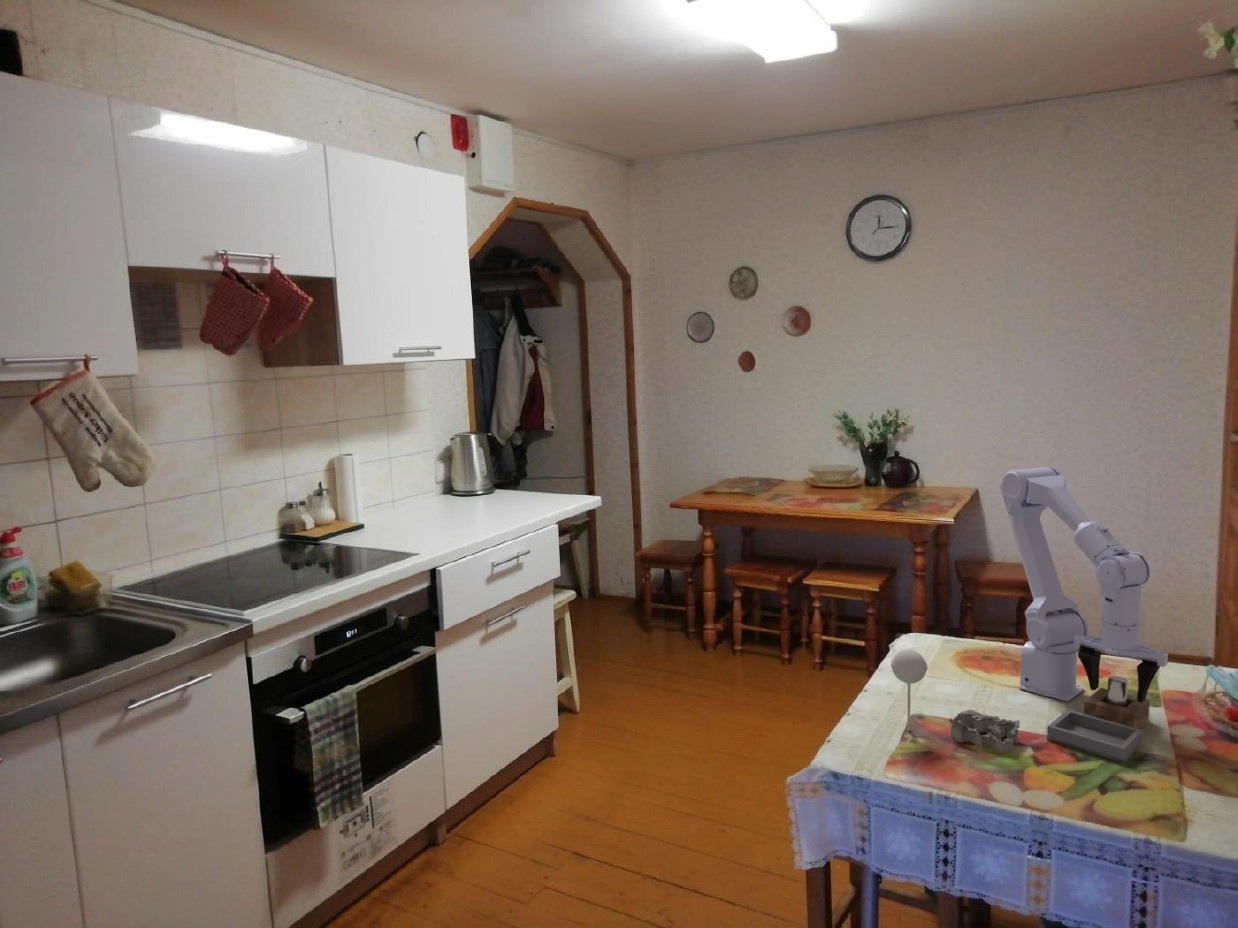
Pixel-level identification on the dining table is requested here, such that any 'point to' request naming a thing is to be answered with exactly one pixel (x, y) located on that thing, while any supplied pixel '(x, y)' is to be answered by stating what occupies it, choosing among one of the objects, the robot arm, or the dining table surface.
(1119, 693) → the pin
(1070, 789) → the dining table surface
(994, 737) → the egg carton
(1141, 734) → the tray
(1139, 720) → the holder
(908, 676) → the lollipop
